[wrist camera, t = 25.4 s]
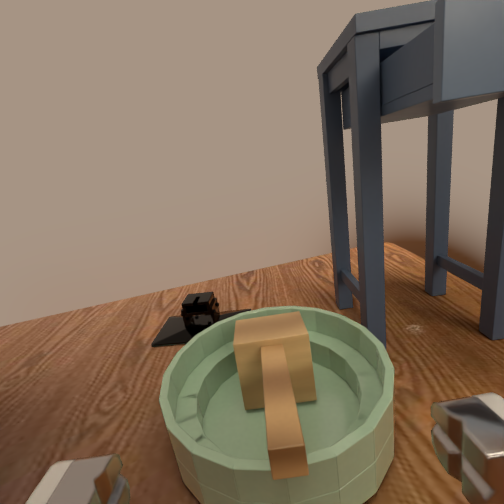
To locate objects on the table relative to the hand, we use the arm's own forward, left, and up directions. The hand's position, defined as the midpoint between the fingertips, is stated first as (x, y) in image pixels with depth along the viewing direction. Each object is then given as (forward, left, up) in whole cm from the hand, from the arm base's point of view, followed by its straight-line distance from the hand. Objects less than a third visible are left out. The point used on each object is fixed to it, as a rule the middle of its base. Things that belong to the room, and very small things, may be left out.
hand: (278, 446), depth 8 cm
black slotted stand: (-27, +14, -14) cm, 34 cm away
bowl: (-10, +10, -13) cm, 19 cm away
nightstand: (-3, +26, -13) cm, 29 cm away
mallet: (-8, +8, -12) cm, 16 cm away
